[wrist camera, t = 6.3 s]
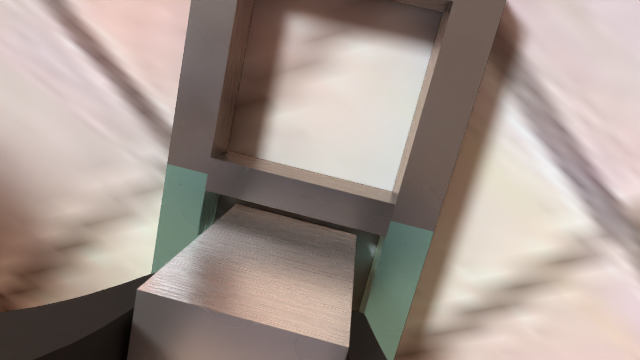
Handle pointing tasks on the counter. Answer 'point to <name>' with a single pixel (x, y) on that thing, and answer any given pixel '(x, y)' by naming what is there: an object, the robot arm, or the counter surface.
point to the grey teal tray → (313, 188)
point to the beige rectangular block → (250, 293)
